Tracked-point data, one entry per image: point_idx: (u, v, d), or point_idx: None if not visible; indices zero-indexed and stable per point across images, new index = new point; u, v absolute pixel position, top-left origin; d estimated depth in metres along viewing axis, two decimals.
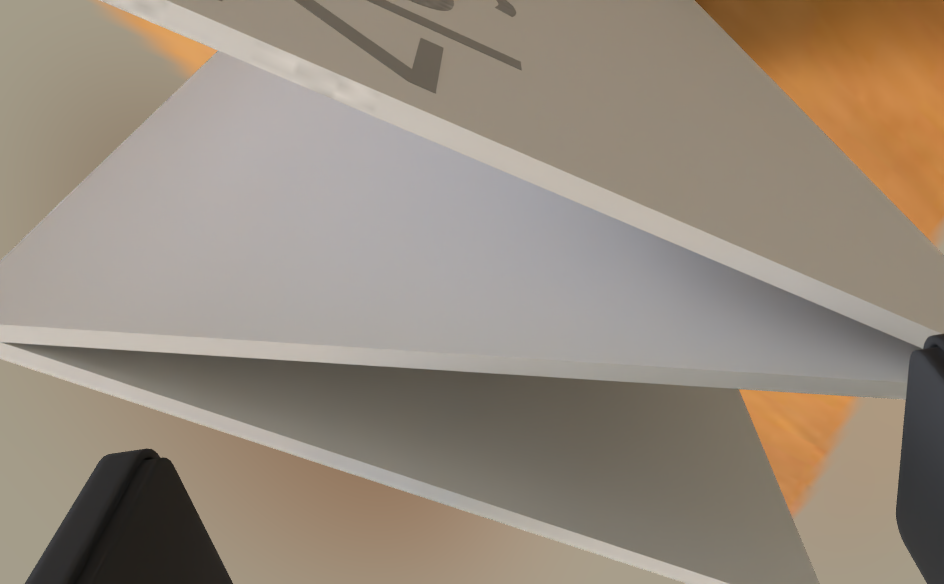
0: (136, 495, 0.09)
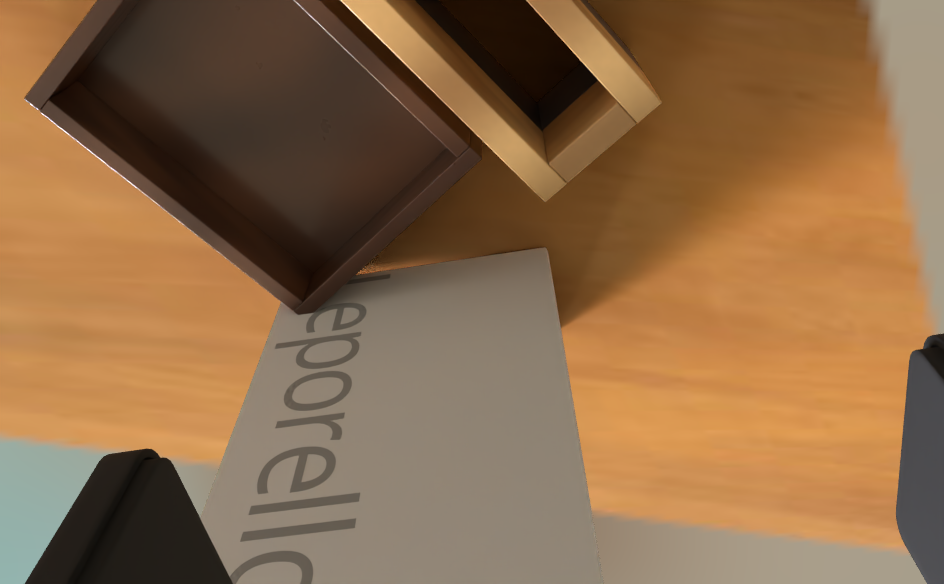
0: (136, 495, 0.09)
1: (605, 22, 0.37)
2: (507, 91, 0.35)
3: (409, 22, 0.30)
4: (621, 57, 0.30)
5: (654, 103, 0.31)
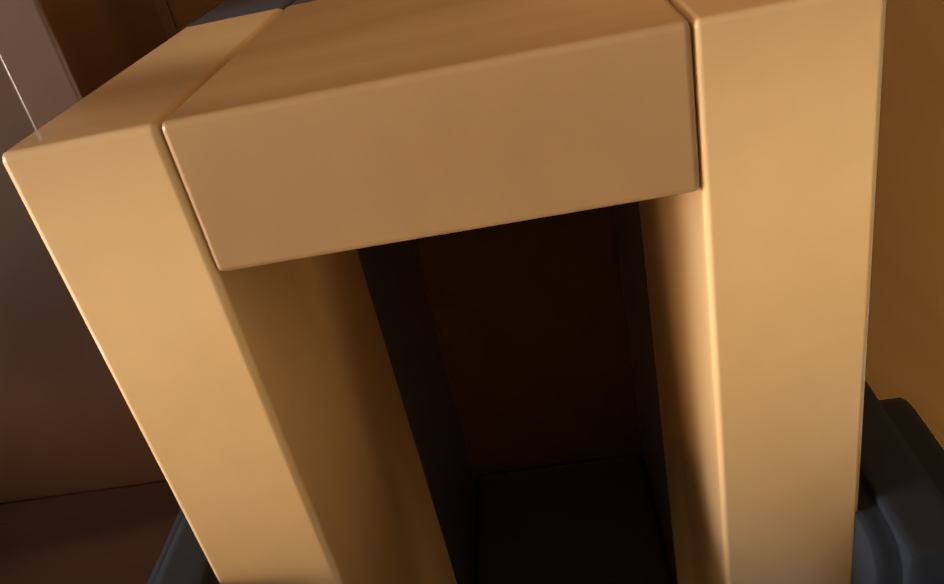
0: None
1: None
2: (449, 521, 0.14)
3: (302, 460, 0.07)
4: None
5: None
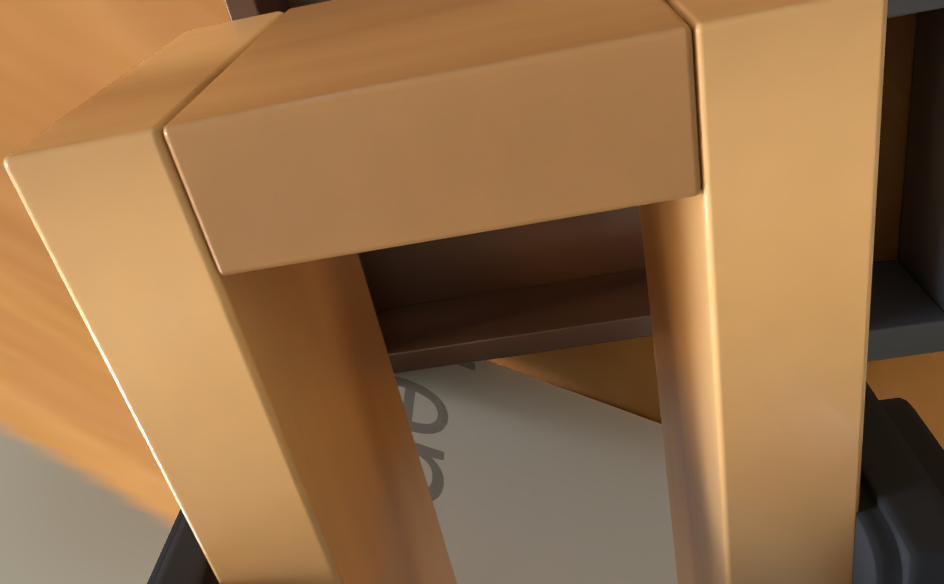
0: None
1: None
2: None
3: (303, 463, 0.07)
4: None
5: None
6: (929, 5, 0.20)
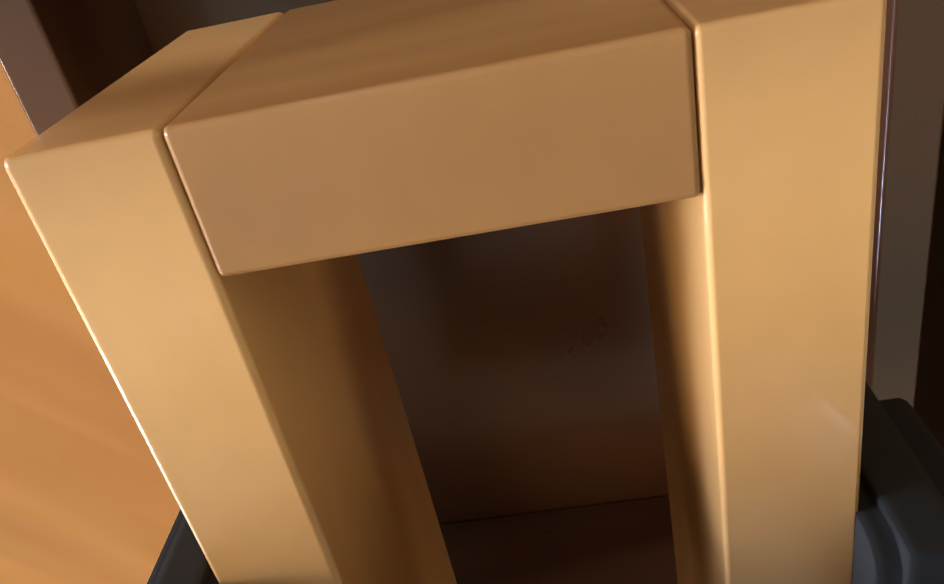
0: None
1: None
2: None
3: (303, 464, 0.07)
4: None
5: None
6: None
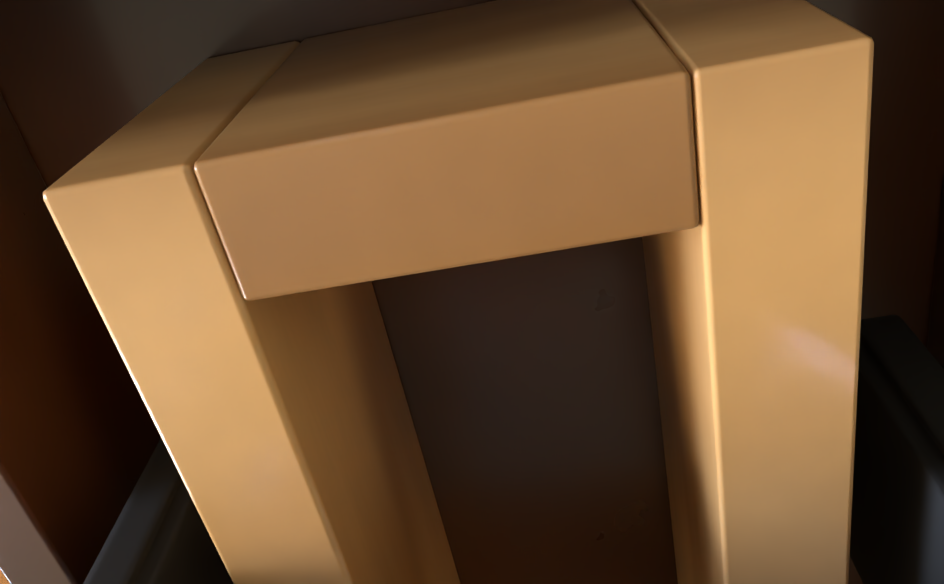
0: None
1: None
2: None
3: (319, 477, 0.08)
4: None
5: None
6: None
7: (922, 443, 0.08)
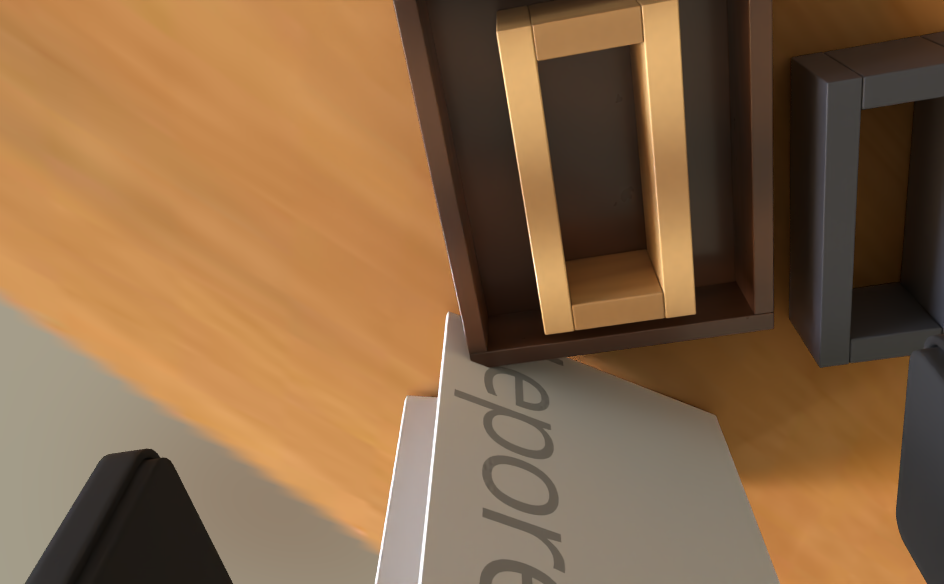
0: (136, 495, 0.09)
1: None
2: None
3: (544, 118, 0.28)
4: (692, 259, 0.31)
5: (690, 311, 0.32)
6: (923, 96, 0.28)
7: None
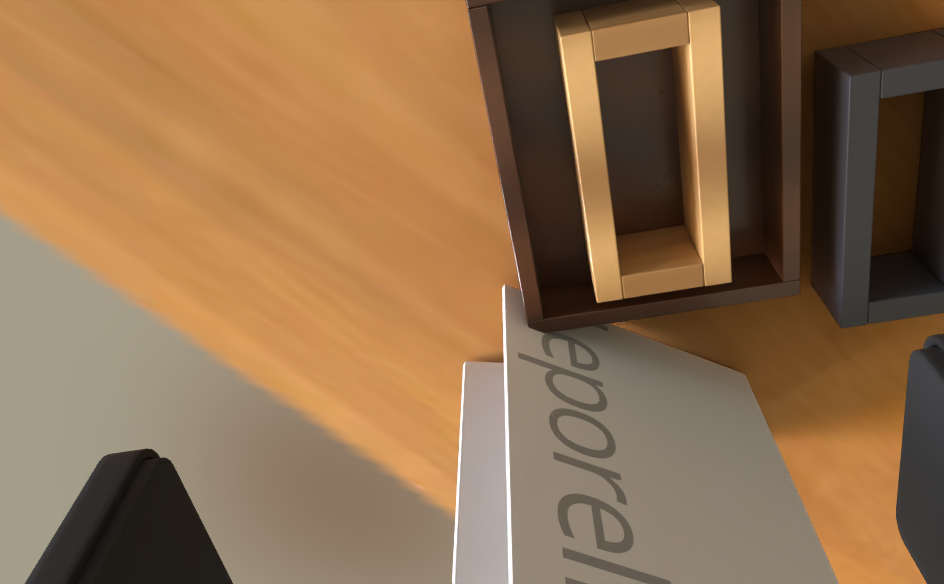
0: (136, 495, 0.09)
1: None
2: None
3: (600, 111, 0.32)
4: (729, 234, 0.35)
5: (726, 279, 0.36)
6: (934, 86, 0.32)
7: None
